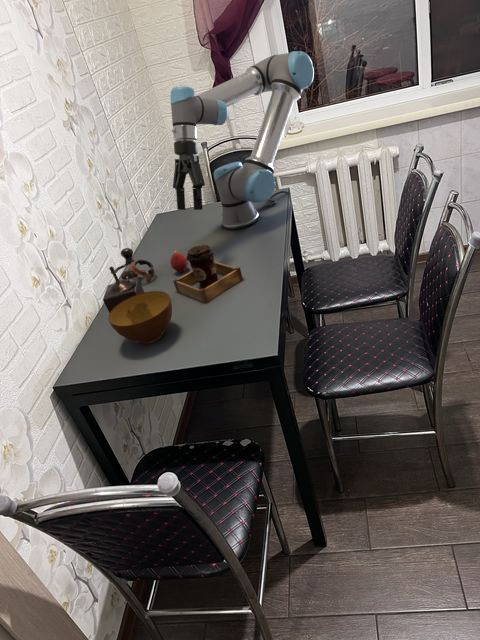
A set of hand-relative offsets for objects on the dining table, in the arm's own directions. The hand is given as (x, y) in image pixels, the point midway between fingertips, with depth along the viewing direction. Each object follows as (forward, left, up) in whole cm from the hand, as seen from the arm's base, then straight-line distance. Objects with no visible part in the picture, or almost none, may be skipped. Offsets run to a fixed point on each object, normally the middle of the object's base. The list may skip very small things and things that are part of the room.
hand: (189, 209), depth 158 cm
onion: (+9, -3, -20) cm, 22 cm away
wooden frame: (+11, +16, -20) cm, 28 cm away
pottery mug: (+21, -13, -20) cm, 32 cm away
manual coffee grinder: (+33, +3, -20) cm, 39 cm away
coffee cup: (+11, +16, -20) cm, 28 cm away
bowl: (+39, +24, -20) cm, 50 cm away
